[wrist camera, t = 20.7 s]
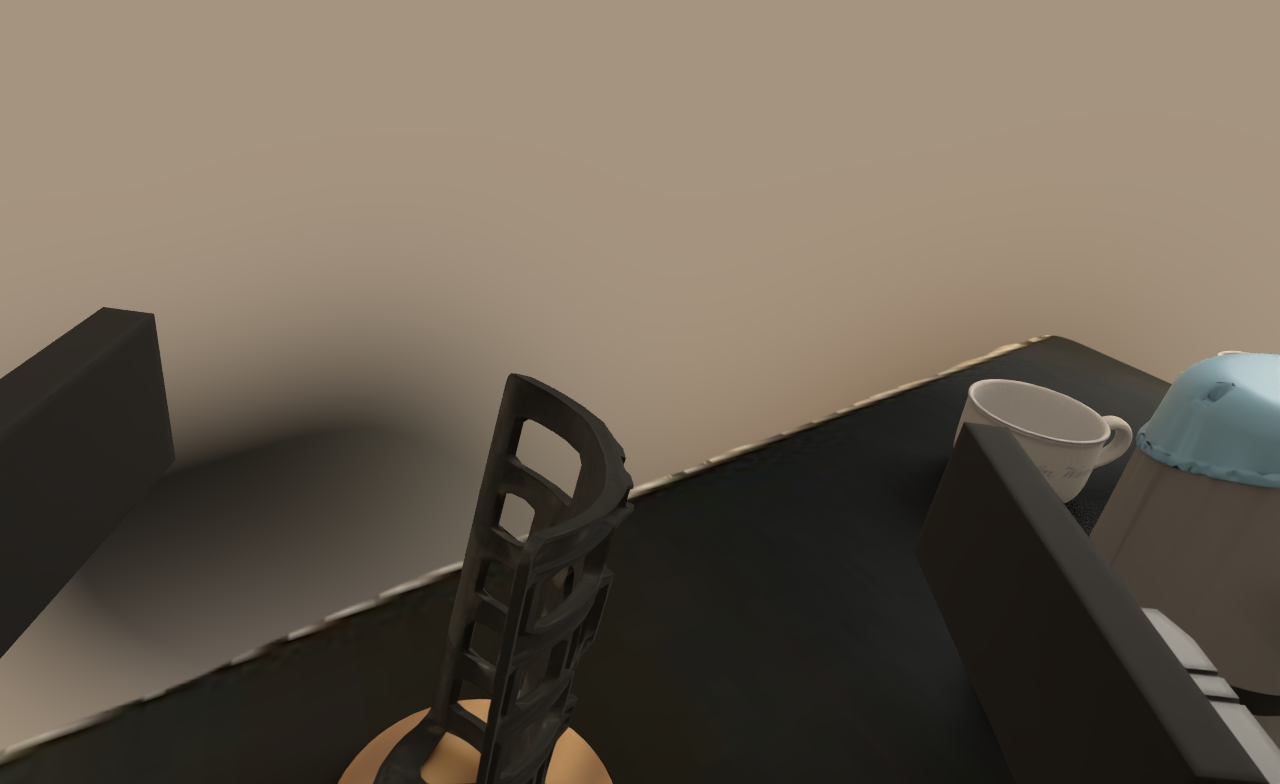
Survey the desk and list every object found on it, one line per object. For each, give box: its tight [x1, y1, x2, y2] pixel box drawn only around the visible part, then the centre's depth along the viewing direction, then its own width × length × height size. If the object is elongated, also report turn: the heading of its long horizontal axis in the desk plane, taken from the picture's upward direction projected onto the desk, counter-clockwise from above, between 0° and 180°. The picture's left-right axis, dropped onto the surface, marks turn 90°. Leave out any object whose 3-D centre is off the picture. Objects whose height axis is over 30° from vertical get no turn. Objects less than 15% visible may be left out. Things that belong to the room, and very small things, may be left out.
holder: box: [373, 373, 634, 784], centre depth 32 cm, size 11×8×20 cm
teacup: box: [953, 379, 1132, 503], centre depth 68 cm, size 14×11×8 cm
